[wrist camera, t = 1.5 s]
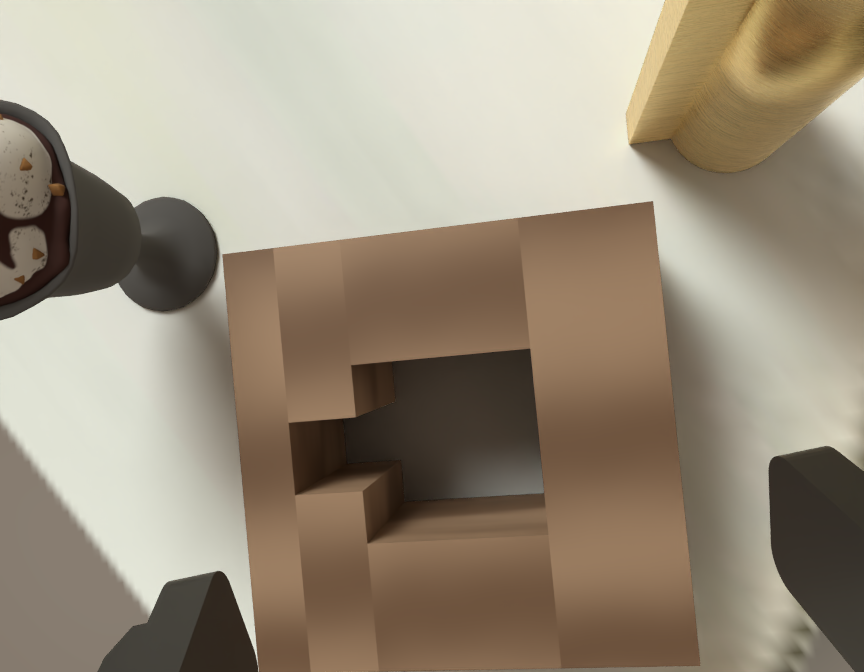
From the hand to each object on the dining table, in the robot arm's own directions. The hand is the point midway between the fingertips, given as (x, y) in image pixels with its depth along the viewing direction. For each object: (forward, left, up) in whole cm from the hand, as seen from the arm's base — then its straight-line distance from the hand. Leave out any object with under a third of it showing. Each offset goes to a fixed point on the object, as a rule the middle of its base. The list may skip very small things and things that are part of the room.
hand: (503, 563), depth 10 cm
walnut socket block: (0, -3, -18) cm, 18 cm away
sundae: (-9, -15, -18) cm, 25 cm away
